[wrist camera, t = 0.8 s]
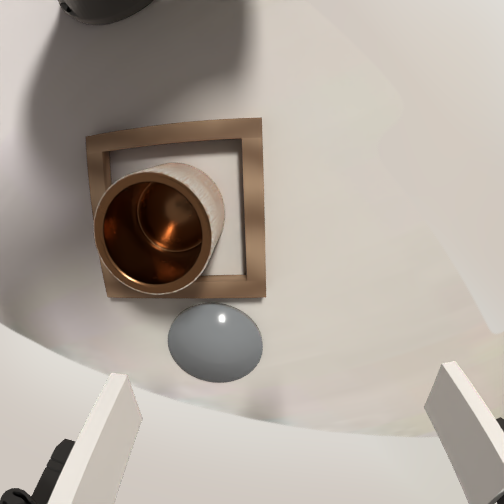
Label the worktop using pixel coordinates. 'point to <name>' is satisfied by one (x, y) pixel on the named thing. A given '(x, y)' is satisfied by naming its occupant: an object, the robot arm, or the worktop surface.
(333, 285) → the worktop surface
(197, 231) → the planter
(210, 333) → the slate trivet
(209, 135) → the holder frame
